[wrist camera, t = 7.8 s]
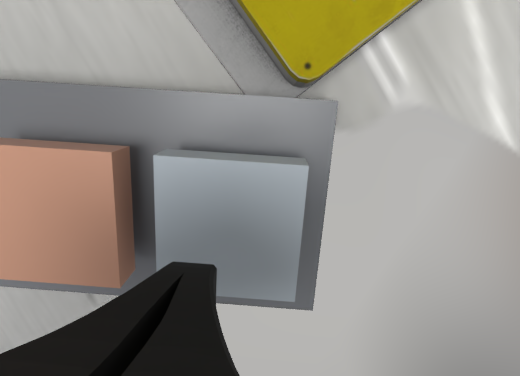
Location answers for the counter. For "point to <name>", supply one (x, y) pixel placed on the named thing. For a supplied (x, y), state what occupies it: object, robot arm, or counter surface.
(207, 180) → the slate key
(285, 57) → the emergency button
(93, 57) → the counter surface
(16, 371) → the robot arm
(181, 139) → the key console
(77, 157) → the terracotta key
